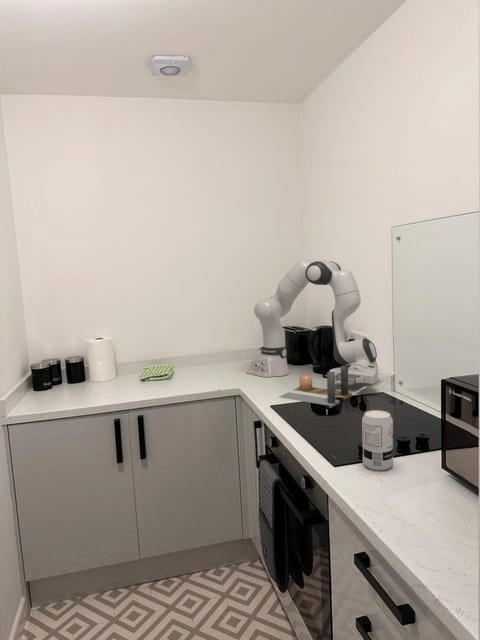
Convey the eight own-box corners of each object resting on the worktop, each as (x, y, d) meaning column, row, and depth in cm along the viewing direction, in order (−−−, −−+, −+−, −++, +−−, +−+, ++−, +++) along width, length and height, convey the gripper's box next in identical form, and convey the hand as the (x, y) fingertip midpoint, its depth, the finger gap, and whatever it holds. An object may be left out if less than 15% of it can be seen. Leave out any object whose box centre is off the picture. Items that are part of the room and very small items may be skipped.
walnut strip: (293, 392, 214) (292, 363, 212) (302, 387, 220) (301, 359, 219) (343, 400, 199) (343, 368, 198) (352, 395, 206) (351, 364, 204)
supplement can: (358, 460, 142) (358, 410, 140) (386, 458, 143) (386, 408, 141) (368, 472, 134) (367, 419, 132) (397, 470, 135) (397, 417, 133)
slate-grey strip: (278, 399, 205) (277, 368, 203) (288, 394, 211) (287, 365, 209) (330, 408, 190) (329, 375, 188) (339, 402, 196) (338, 371, 195)
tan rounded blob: (297, 389, 214) (296, 376, 213) (303, 386, 218) (303, 373, 218) (308, 391, 211) (308, 377, 210) (314, 388, 215) (314, 374, 214)
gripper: (337, 363, 219) (322, 369, 209) (381, 367, 207) (367, 375, 196) (337, 376, 220) (322, 383, 209) (381, 382, 208) (368, 390, 197)
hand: (344, 379), depth 203 cm, fingers open, 8 cm apart
